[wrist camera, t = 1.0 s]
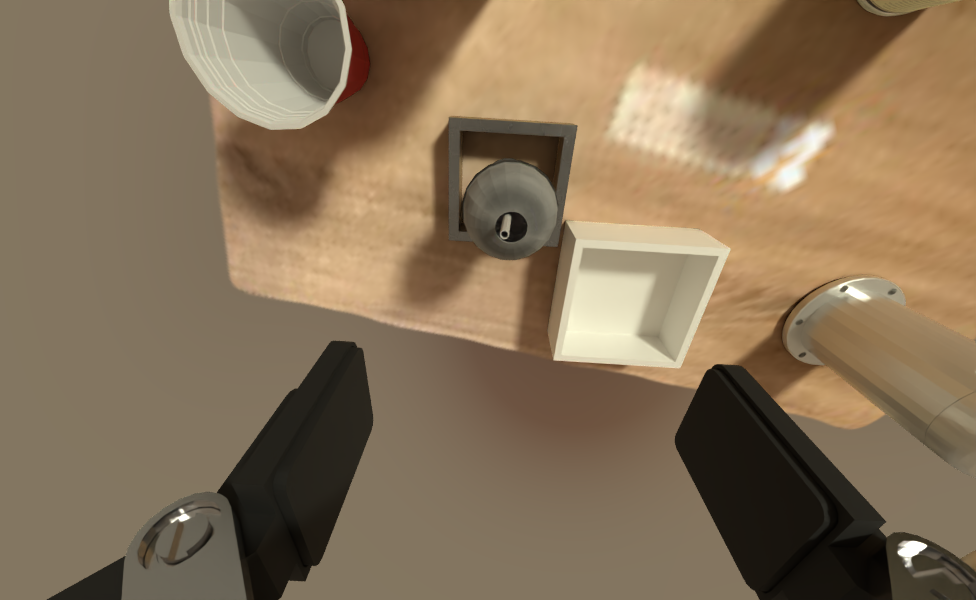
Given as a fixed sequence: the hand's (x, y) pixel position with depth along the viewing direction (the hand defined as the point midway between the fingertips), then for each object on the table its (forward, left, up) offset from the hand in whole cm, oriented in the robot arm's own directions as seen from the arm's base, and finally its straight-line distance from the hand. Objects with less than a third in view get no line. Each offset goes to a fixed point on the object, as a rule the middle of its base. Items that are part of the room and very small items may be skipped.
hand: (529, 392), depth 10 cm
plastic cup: (+16, -10, -31) cm, 36 cm away
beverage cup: (0, 0, -31) cm, 31 cm away
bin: (-14, +11, -30) cm, 35 cm away
